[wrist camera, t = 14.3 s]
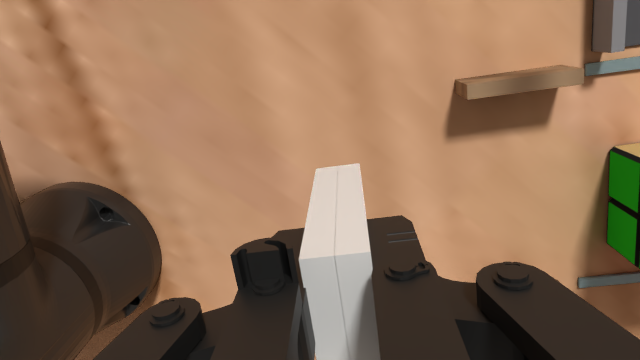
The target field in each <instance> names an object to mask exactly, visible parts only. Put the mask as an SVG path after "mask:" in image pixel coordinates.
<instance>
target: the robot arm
mask: <svg viewBox="0 0 640 360" xmlns="http://www.w3.org/2000/svg"><path fill="white" fill-rule="evenodd" d="M231 260H232V264H233V268H234V273H235V277H236V282H237V286H238V291H237V294H236V296H235V299H234V301H233V303H232V304H230V305H227V306H225V307H222V308H219V309H215V310H212V311H208V312H205V313H202V310H201V306H200V303H199V302H197V301H196V300H195V299H191V298H186V297H184V298H171V299H169V300H164V301H161V302H159V303H158V304H156V305H154V306H152V307H150V308H149V309H147V310H146V311H145V312H143V313H142V314H141V315H139V316H138V317H137V318H136V319H135V320H134V321H133V322H132V323H131V324H130V325H129V326H128V327H127V328H126V329H125V330H124V331H122V332H121V333H120V334H119V335H118V336H117V337H116V338H115V339H114V340H113V341H112V342H111V343H110V344H109V345H108V346H107V347H106V348H104V349H103V350H102V351H101V352H100V353H99V354H98V355H97V356H96V357H95V358H94V359H93V360H314V355H315V354H316V360H640V339H638V338H637V337H635V336H634V335H633V334H631V333H630V332H628V331H627V330H625V329H624V328H623V327H621V326H620V325H618V324H617V323H616V322H614V321H613V320H611V319H610V318H609V317H607V316H606V315H604V314H603V313H602V312H600V311H599V310H597V309H596V308H595V307H593V306H592V305H590V304H589V303H588V302H586V301H585V300H583V299H582V298H581V297H579V296H578V295H576V294H575V293H574V292H572V291H571V290H569V289H568V288H566V287H565V286H564V285H562V284H561V283H559V282H558V281H557V280H555V279H554V278H552V277H551V276H550V275H548V274H547V273H545V272H544V271H542V270H540V269H538V268H536V267H534V266H530V265H526V264H522V263H519V262H513V263H511V262H503V263H496V264H492V265H489V266H486V267H484V268H482V269H481V270H480V271H479V272H478V273H477V277H476V283H468V282H459V281H452V280H448V279H445V278H442V277H440V276H438V275H437V272H436V269H435V268H434V267H433V265H432V264H431V263H430V262H427V261H426V260H425V257H424V254H423V251H422V249H421V246H420V243H419V240H418V238H417V235H416V232H415V229H414V227H413V224H412V222H411V221H410V220H408V219H406V218H405V217H403V216H402V215H401V216H392V217H384V218H375V219H366V211H365V203H364V196H363V188H362V180H361V172H360V164H359V163H357V164H349V165H342V166H334V167H326V168H318V169H316V173H315V178H314V183H313V188H312V193H311V198H310V204H309V209H308V214H307V219H306V224H305V228H299V229H291V230H282V231H278V232H277V233H276V234H275V235H274V236H273V237H271V238H264V239H258V240H254V241H251V242H249V243H246V244H243V245H242V246H240V247H239V248H237V249H235V251H234V252H233V253H232V254H231ZM160 269H161V251H160V246H159V242H158V239H157V236H156V234H155V232H154V230H153V228H152V226H151V224H150V223H149V221H148V220H147V218H146V217H145V216H144V215H143V214H142V212H141V211H140V210H139V209H138V208H137V207H136V206H135V205H134V204H132V203H131V202H130V201H129V200H127V199H126V198H124V197H123V196H121V195H120V194H118V193H116V192H114V191H112V190H110V189H108V188H105V187H102V186H99V185H95V184H91V183H84V182H67V183H61V184H57V185H54V186H51V187H48V188H46V189H44V190H42V191H41V192H39V193H37V194H35V195H33V196H31V197H30V198H28V199H27V200H25V201H24V202H23V203H22V204H20V203H19V200H18V197H17V194H16V191H15V188H14V185H13V182H12V178H11V175H10V172H9V168H8V165H7V162H6V158H5V155H4V152H3V148H2V145H1V142H0V360H74V359H75V358H76V356H77V355H78V354H79V353H80V351H81V350H82V349H83V347H84V346H85V345H86V344H87V342H88V341H89V340H90V339H91V338H92V336H93V335H94V334H96V333H98V332H100V331H102V330H103V329H105V328H107V327H109V326H111V325H112V324H114V323H116V322H118V321H120V320H121V319H123V318H125V317H127V316H128V315H130V314H131V313H132V312H134V311H135V310H136V309H137V308H138V307H139V306H140V305H141V304H142V303H143V302H144V300H145V299H146V298H147V296H148V295H149V294H150V292H151V291H152V289H153V288H154V286H155V284H156V282H157V280H158V277H159V274H160Z"/></svg>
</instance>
